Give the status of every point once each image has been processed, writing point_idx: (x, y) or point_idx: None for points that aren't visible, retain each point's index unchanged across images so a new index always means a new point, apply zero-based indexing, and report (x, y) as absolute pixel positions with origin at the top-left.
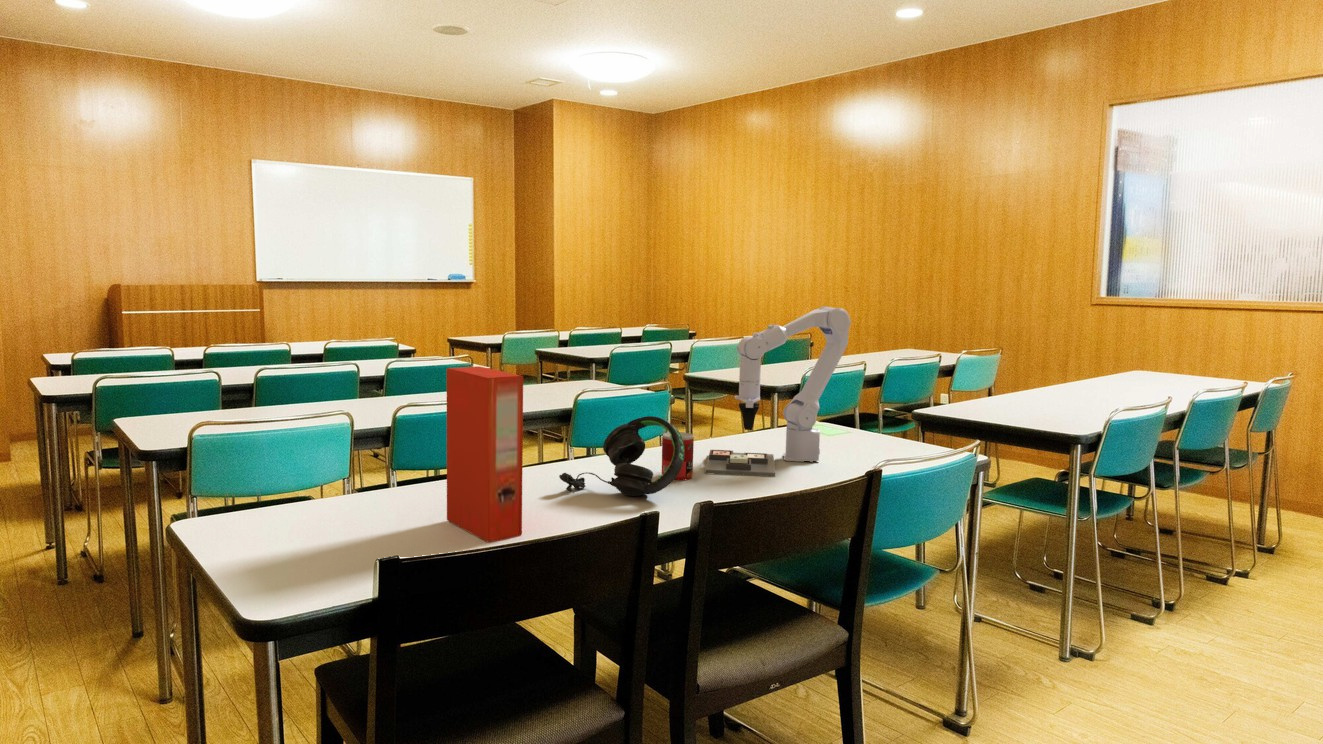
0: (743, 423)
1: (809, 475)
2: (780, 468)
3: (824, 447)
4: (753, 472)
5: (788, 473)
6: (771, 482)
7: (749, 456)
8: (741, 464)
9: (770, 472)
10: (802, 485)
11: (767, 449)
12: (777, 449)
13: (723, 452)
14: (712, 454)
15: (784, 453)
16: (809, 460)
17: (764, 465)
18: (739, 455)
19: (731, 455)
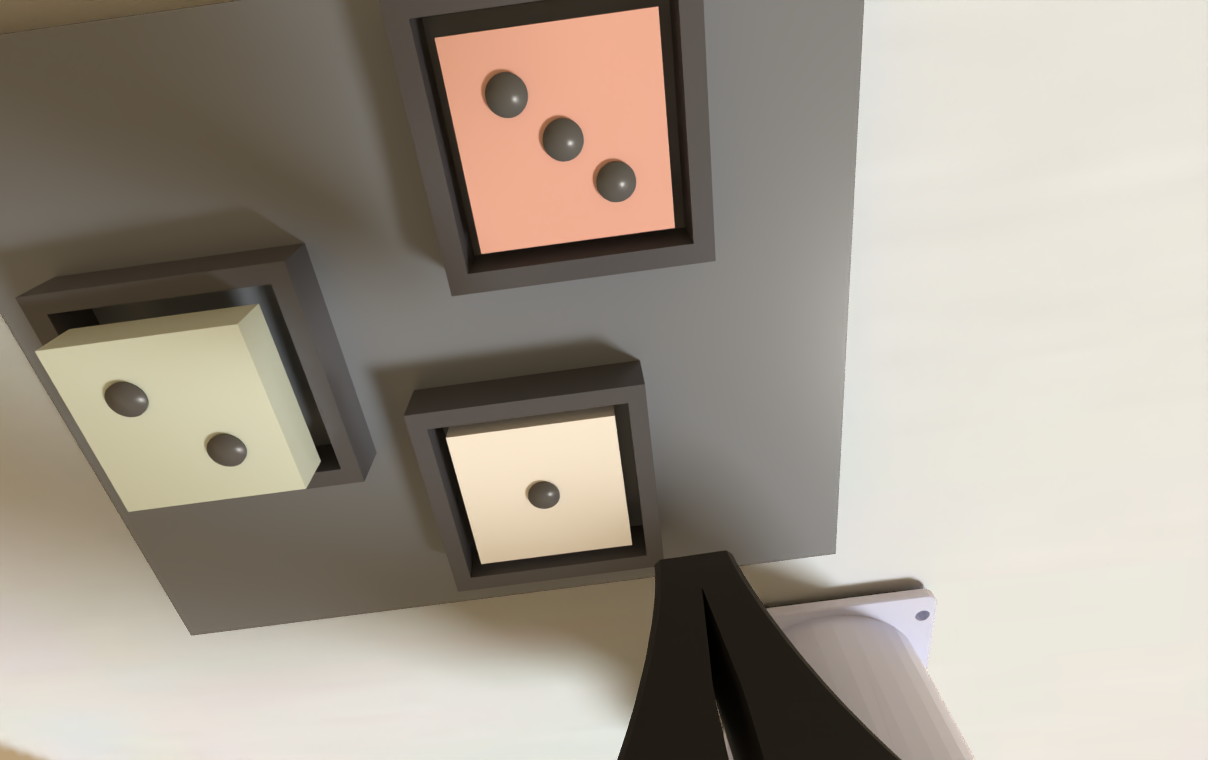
0: (654, 626)
1: (365, 755)
2: (481, 611)
3: (1192, 749)
4: (118, 503)
5: (354, 664)
6: (23, 611)
7: (498, 449)
8: None
9: (181, 609)
10: (85, 750)
11: (1151, 459)
12: (1146, 524)
13: (604, 161)
14: (404, 41)
15: (924, 601)
16: (725, 739)
17: (394, 547)
18: (245, 419)
19: (191, 342)
